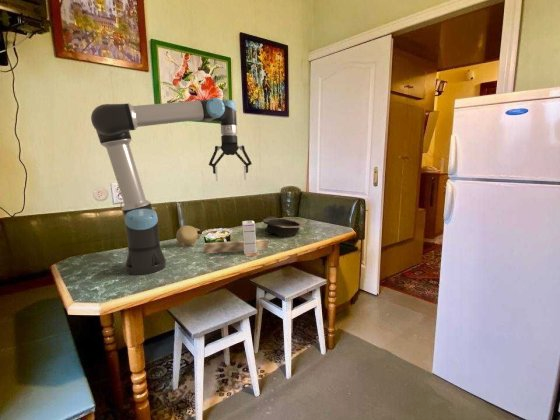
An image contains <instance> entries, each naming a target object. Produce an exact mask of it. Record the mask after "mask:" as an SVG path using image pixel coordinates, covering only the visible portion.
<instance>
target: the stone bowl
mask: <svg viewBox="0 0 560 420" xmlns="http://www.w3.org/2000/svg"><path fill="white" fill-rule="evenodd" d="M261 221H263V222H262V223H264V224H265V225H266V228H265V232H266V234H268V235H273V234H274V235H276V236H277V237H278V238H279V237H280V238H285V237H287V238H288V237H291V236H296V235H297V233H298V232H299V230H300V228H302V227H304V226H306V223H305V222H302V221H300V220H297V219H292V218H284V217H283V218H282V217H281V218H278V217H276V216H273V215H270V216H267V217H265V218H264V219H263V218H262V219H261Z"/></svg>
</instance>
